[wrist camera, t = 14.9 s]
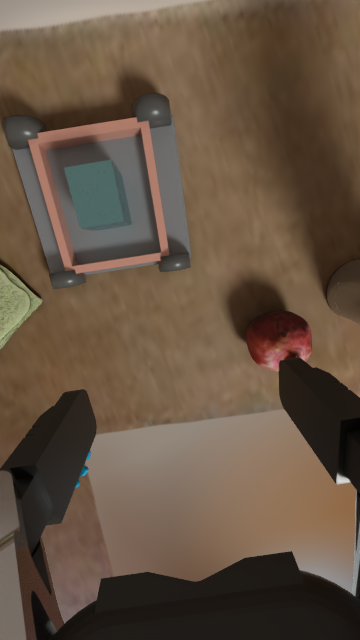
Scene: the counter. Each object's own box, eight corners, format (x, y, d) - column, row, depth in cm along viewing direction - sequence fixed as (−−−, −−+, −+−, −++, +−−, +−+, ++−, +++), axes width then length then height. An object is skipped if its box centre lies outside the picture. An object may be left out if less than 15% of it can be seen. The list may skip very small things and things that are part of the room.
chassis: (171, 111, 30) (171, 90, 26) (191, 264, 36) (194, 267, 32) (14, 136, 30) (-11, 119, 26) (59, 285, 36) (44, 290, 32)
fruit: (253, 296, 38) (281, 313, 28) (306, 315, 39) (349, 338, 30) (230, 346, 40) (248, 378, 31) (280, 363, 42) (312, 399, 32)
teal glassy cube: (121, 175, 31) (111, 159, 25) (132, 224, 33) (124, 220, 27) (83, 181, 31) (63, 167, 25) (95, 231, 33) (80, 228, 27)
